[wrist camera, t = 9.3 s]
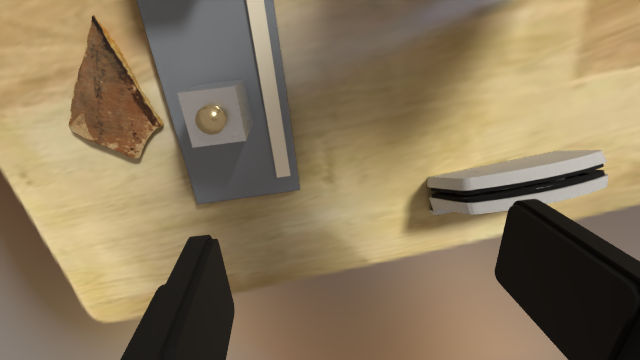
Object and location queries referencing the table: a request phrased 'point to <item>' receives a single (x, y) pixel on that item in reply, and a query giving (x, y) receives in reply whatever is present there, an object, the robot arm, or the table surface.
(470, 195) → the grey layered slab
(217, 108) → the block
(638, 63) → the table surface
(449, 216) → the table surface
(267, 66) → the hole plate
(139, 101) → the shard
